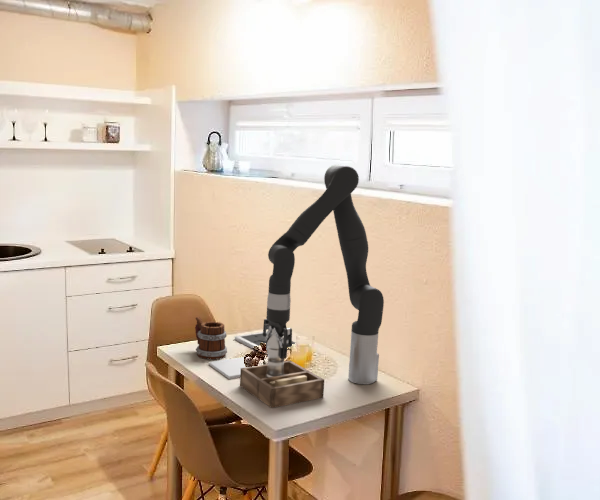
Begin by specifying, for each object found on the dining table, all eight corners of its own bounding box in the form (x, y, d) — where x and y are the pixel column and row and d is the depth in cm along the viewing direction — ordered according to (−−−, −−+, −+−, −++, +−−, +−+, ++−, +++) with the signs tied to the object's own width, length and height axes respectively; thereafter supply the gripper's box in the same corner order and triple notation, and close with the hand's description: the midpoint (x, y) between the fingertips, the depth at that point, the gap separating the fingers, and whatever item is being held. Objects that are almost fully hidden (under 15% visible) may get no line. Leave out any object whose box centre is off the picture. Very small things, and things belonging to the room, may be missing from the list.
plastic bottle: (273, 392, 208) (276, 332, 205) (260, 386, 213) (263, 327, 210) (288, 388, 212) (291, 329, 209) (275, 382, 217) (278, 324, 214)
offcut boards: (304, 391, 211) (305, 372, 210) (312, 397, 207) (314, 377, 206) (267, 398, 203) (268, 379, 202) (275, 404, 199) (276, 384, 198)
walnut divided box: (289, 377, 223) (290, 360, 222) (323, 397, 206) (324, 379, 205) (239, 385, 213) (240, 368, 212) (271, 408, 196) (272, 389, 195)
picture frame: (295, 349, 256) (266, 336, 273) (296, 342, 256) (266, 329, 272) (262, 355, 247) (234, 341, 263) (263, 348, 247) (234, 334, 263)
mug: (211, 362, 233) (208, 321, 233) (186, 359, 243) (183, 319, 242) (235, 355, 242) (231, 315, 242) (210, 352, 252) (207, 314, 251)
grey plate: (248, 358, 240) (248, 356, 240) (270, 372, 227) (270, 369, 227) (208, 364, 231) (208, 362, 231) (229, 379, 218) (229, 376, 218)
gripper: (300, 310, 205) (297, 359, 207) (277, 300, 217) (274, 347, 219) (280, 312, 201) (277, 362, 203) (257, 302, 212) (255, 349, 215)
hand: (276, 354), depth 211 cm, fingers open, 8 cm apart
